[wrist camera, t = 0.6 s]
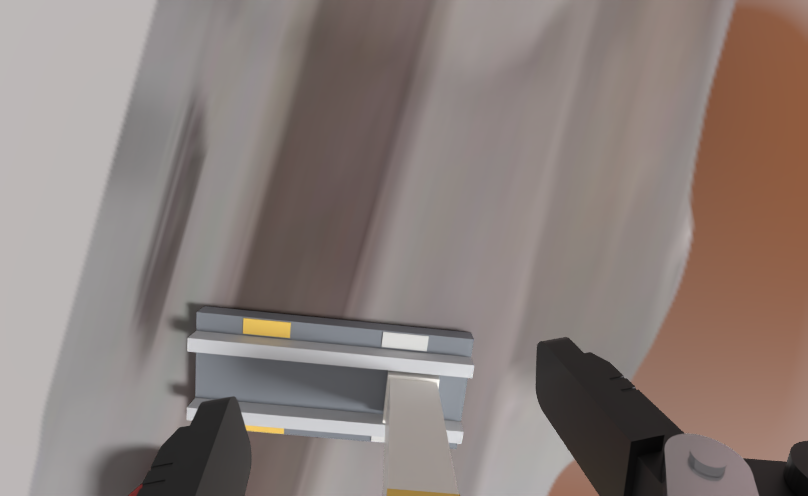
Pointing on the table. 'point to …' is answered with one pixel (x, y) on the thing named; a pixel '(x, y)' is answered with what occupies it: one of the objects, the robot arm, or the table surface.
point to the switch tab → (416, 438)
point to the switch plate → (321, 371)
